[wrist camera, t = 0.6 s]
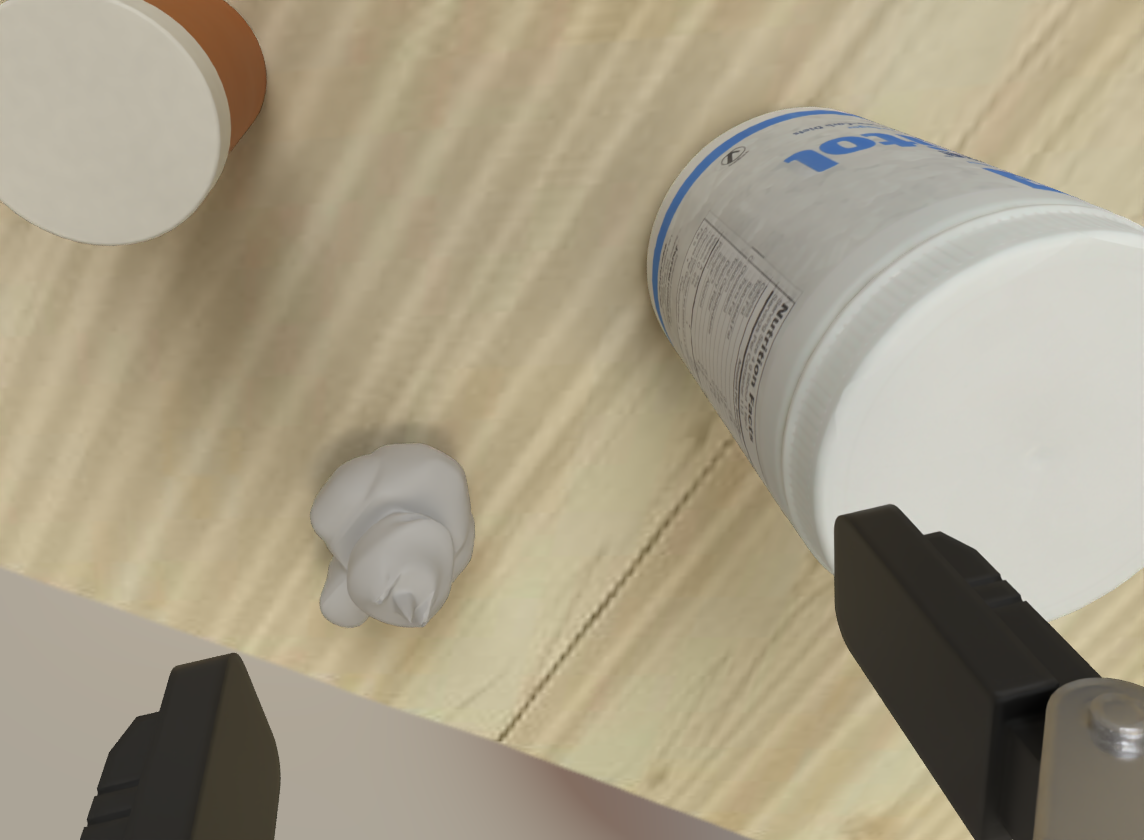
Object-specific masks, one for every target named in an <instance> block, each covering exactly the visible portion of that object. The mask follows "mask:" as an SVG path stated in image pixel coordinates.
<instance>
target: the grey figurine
mask: <svg viewBox="0 0 1144 840" xmlns="http://www.w3.org/2000/svg"><path fill="white" fill-rule="evenodd" d="M310 520H311V524H312V527H313V529H314V531H315V532H316V533H317V535H318V536H319V537H320V538H321V539H323V540H324V542H325V544H326V546H327V548H328V549H329V551H330V552H331V553H332V555H333V557H332V559H331V561H330V564H329V568H328V574H327V579H326V582H325V585H324V587H323V590H322V593H321V597H320V609H321V612H322V614H323V616H324V617H325V618H326V619H327V620H328V621H330V622H332V623H333V624H336V625H338V626H341V627H347V628H353V627H357V626H360V625H361V624H362V623H364V622H365V621H366V620H367V618H368V617H369V616H371V617H372V618H374V619H377V620H379V621H381V622H384V623H387V624H391V625H395V626H400V627H424V626H425V625H426V624H427V623H428V622H429V620H430V619H431V618H432V617H433V616H434V615H435V614H436V613H437V612H438V611H439V610H440V608H441V607H442V606H443V604H444V603H445V601H446V599H447V598H448V595H449V593H450V590H451V585H452V583H453V581H454V580H455V579H456V578H457V577H458V575H459V574H460V573H461V572H462V571H463V570H464V568H465V567H466V566H467V565H468V563H469V561H470V559H471V556H472V553H473V547H474V538H475V523H474V518H473V515H472V513H471V504H470V498H469V491H468V486H467V480H466V475H465V472H464V469H463V468H462V467H461V466H460V464H459V463H458V462H457V461H456V460H455V459H453V458H452V457H450V456H448V455H447V454H445V453H443V452H442V451H440V450H438V449H435V448H433V447H431V446H429V445H426V444H422V443H403V444H390V445H385V446H382V447H379V448H377V449H376V450H374V451H373V452H372V453H371V454H367V455H363V456H359V457H356V458H354V459H351V460H349V461H347V462H345V463H344V464H342V465H341V466H339V467H338V468H337V469H336V470H335V472H334V473H333V474H332V475H331V476H330V478H329V479H328V480H327V482H326V483H325V484H324V486H323V487H322V488H321V489H320V491H319V492H318V494H317V495H316V497H315V499H314V502H313V505H312V508H311V512H310Z"/></svg>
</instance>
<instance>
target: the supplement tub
mask: <svg viewBox="0 0 1144 840" xmlns="http://www.w3.org/2000/svg"><path fill="white" fill-rule="evenodd" d="M647 282H648V290H649V294H650V299H651V303H652V306H653V309H654V312H655V314H656V317H657V319H658V322H659V324H660V326H661V328H662V329H663V331H664V333H665V335H666V337H667V338H668V340H669V341H670V343H671V344H672V346H673V347H674V348H675V350H676V351H677V353H678V354H679V356H680V357H681V359H682V360H683V362H684V364H685V365H686V366H687V368H688V370H689V371H690V373H691V374H692V376H693V377H694V379H695V380H696V382H697V383H698V385H699V386H700V388H701V389H702V391H703V392H704V394H705V395H706V397H707V398H708V400H709V401H710V403H711V404H712V406H713V407H714V409H715V410H716V412H717V413H718V415H719V416H720V418H721V419H722V421H723V422H724V424H725V425H726V427H727V428H728V430H729V431H730V433H731V434H732V436H733V437H734V439H735V440H736V442H737V443H738V445H739V446H740V448H741V449H742V451H743V453H744V454H745V456H746V457H747V459H748V460H749V462H750V463H751V465H752V466H753V468H754V469H755V471H756V472H757V474H758V475H759V477H760V478H761V480H762V481H763V483H764V484H765V486H766V487H767V489H768V490H769V492H770V493H771V495H772V496H773V498H774V499H775V501H776V502H777V504H778V505H779V507H780V508H781V510H782V511H783V513H784V514H785V516H786V517H787V518H788V519H789V521H790V522H791V524H792V525H793V527H794V528H795V530H796V531H797V533H798V534H799V536H800V537H801V538H802V540H803V541H804V543H805V544H806V546H807V547H808V549H809V550H810V552H811V553H812V554H813V555H814V557H815V558H816V559H817V560H818V561H819V562H820V563H821V565H822V566H823V567H824V568H826V569H827V570H828V571H829V572H830V573H832V574H833V575H834V524H835V520H836V518H837V517H838V516H839V515H843V514H848V513H852V512H857V511H861V510H865V509H870V508H874V507H878V506H883V505H887V504H893V505H895V506H897V507H898V508H899V509H900V510H901V511H902V512H903V513H904V514H905V515H906V516H907V517H908V518H909V519H910V521H911V522H912V523H913V524H914V525H915V526H916V527H917V528H918V529H919V530H920V531H921V533H922V534H923V535H925V534H929V533H934V532H938V531H941V532H943V533H945V534H947V535H949V536H951V537H953V538H955V539H957V540H958V541H960V542H962V543H964V544H966V545H968V546H970V547H972V548H974V549H976V550H977V551H978V552H979V553H980V554H981V555H982V556H983V557H984V558H985V559H986V560H987V561H988V562H989V563H990V564H991V565H992V566H993V567H994V568H995V569H996V570H997V571H998V572H999V573H1000V574H1001V578H1002V580H1006V581H1007V582H1008V583H1009V584H1010V585H1011V586H1012V587H1013V588H1014V589H1015V590H1016V591H1017V592H1018V593H1019V594H1020V595H1021V598H1022V600H1023V601H1027V602H1028V603H1029V604H1030V605H1031V606H1032V607H1033V608H1034V609H1035V610H1036V611H1037V612H1038V613H1039V614H1040V615H1041V616H1042V617H1043V618H1044V619H1045V620H1046V621H1047V622H1050V621H1053V620H1055V619H1058V618H1060V617H1063V616H1065V615H1067V614H1070V613H1072V612H1074V611H1077V610H1079V609H1081V608H1082V607H1084V606H1086V605H1088V604H1090V603H1092V602H1093V601H1095V600H1097V599H1099V598H1101V597H1102V596H1104V595H1106V594H1107V593H1109V592H1111V591H1112V590H1114V589H1115V588H1117V587H1118V586H1120V585H1121V584H1122V583H1124V582H1125V581H1127V580H1128V579H1129V578H1131V577H1132V576H1133V575H1135V574H1136V573H1137V572H1138V571H1140V570H1141V569H1142V568H1144V227H1142V226H1141V225H1139V224H1137V223H1135V222H1133V221H1131V220H1129V219H1127V218H1125V217H1123V216H1120V215H1117V214H1114V213H1112V212H1110V211H1108V210H1106V209H1103V208H1100V207H1098V206H1095V205H1093V204H1090V203H1088V202H1085V201H1083V200H1081V199H1078V198H1076V197H1073V196H1071V195H1068V194H1066V193H1063V192H1061V191H1058V190H1055V189H1053V188H1050V187H1048V186H1045V185H1042V184H1040V183H1037V182H1034V181H1031V180H1029V179H1026V178H1023V177H1021V176H1018V175H1015V174H1012V173H1010V172H1007V171H1004V170H1002V169H999V168H997V167H994V166H991V165H989V164H986V163H984V162H981V161H978V160H975V159H972V158H970V157H967V156H964V155H962V154H959V153H956V152H954V151H951V150H948V149H946V148H943V147H941V146H938V145H935V144H932V143H930V142H927V141H924V140H921V139H919V138H916V137H914V136H911V135H908V134H905V133H903V132H900V131H897V130H895V129H892V128H889V127H886V126H884V125H881V124H878V123H875V122H873V121H870V120H867V119H865V118H862V117H859V116H856V115H853V114H850V113H847V112H843V111H840V110H836V109H831V108H822V107H796V108H789V109H783V110H778V111H774V112H770V113H767V114H763V115H760V116H758V117H755V118H752V119H750V120H748V121H746V122H743V123H741V124H739V125H737V126H735V127H733V128H732V129H730V130H728V131H726V132H724V133H723V134H721V135H720V136H718V137H717V138H715V139H714V140H713V141H711V142H710V143H709V144H707V145H706V146H705V147H704V148H703V149H702V150H700V151H699V152H698V153H697V154H696V155H695V156H694V157H693V158H692V159H691V160H690V162H689V163H688V164H687V165H686V166H685V167H684V169H683V170H682V171H681V172H680V174H679V175H678V176H677V178H676V179H675V181H674V182H673V184H672V185H671V187H670V188H669V190H668V192H667V194H666V196H665V198H664V200H663V202H662V204H661V206H660V208H659V210H658V213H657V216H656V218H655V221H654V224H653V227H652V232H651V236H650V240H649V246H648V253H647Z"/></svg>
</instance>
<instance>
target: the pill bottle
mask: <svg viewBox="0 0 1144 840" xmlns="http://www.w3.org/2000/svg"><path fill="white" fill-rule="evenodd" d="M265 92H266V68H265V62H264V58H263V54H262V51H261V48H260V46H259V43H258V41H257V39H256V37H255V35H254V34H253V32H252V30H251V28H250V27H249V26H248V24H247V23H246V22H245V20H244V19H243V18H242V17H241V16H240V15H239V14H238V13H237V11H236V10H235V9H233V8H232V7H231V6H230V5H229V4H227V3H226V2H225V1H223V0H8V1H6V2H4V3H2V4H0V200H1V201H2V202H3V203H4V204H5V205H6V206H8V207H9V208H10V209H11V210H12V211H14V212H15V213H16V214H18V215H19V216H21V217H22V218H24V219H25V220H27V221H28V222H30V223H31V224H33V225H35V226H37V227H39V228H41V229H43V230H45V231H47V232H49V233H52V234H54V235H57V236H59V237H62V238H65V239H68V240H72V241H76V242H79V243H85V244H91V245H100V246H120V245H131V244H136V243H140V242H145V241H148V240H151V239H154V238H156V237H159V236H161V235H163V234H165V233H167V232H169V231H171V230H173V229H174V228H176V227H177V226H179V225H180V224H181V223H183V222H184V221H185V220H186V219H188V218H189V217H190V216H191V215H192V214H193V213H194V212H195V211H196V210H197V208H198V207H199V206H200V204H201V203H202V202H203V200H204V199H205V198H206V196H207V195H208V194H209V192H210V191H211V190H212V188H213V187H214V185H215V184H216V182H217V180H218V178H219V177H220V175H221V173H222V171H223V168H224V165H225V163H226V160H227V156H228V154H229V153H230V152H231V150H232V149H233V148H234V147H235V145H236V144H237V143H238V141H239V140H240V139H241V137H242V136H243V135H244V133H245V132H246V131H247V130H248V128H249V127H250V126H251V124H252V123H253V122H254V120H255V119H256V117H257V115H258V113H259V112H260V109H261V107H262V104H263V101H264V96H265Z"/></svg>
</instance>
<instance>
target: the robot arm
mask: <svg viewBox="0 0 1144 840" xmlns="http://www.w3.org/2000/svg"><path fill="white" fill-rule="evenodd" d="M834 586H835V611H836V616H837V621H838V625H839V628H840V631H841V634H842V637H843V639H844V641H845V643H846V645H847V647H848V649H849V651H850V652H851V654H852V655H853V657H854V658H855V660H856V661H857V663H858V664H859V666H860V667H861V669H862V670H863V672H864V673H865V675H866V676H867V678H868V679H869V681H870V682H871V684H872V685H873V687H874V689H875V690H876V692H877V693H878V695H879V696H880V698H881V699H882V701H883V702H884V704H885V705H886V707H887V708H888V710H889V711H890V713H891V714H892V716H893V717H894V719H895V720H896V722H897V723H898V725H899V726H900V728H901V729H902V731H903V732H904V734H905V735H906V737H907V738H908V740H909V741H910V743H911V744H912V746H913V747H914V749H915V750H916V752H917V753H918V755H919V756H920V758H921V759H922V761H923V762H924V764H925V765H926V767H927V768H928V770H929V771H930V773H931V774H932V776H933V777H934V779H935V780H936V782H937V783H938V785H939V786H940V788H941V789H942V791H943V792H944V794H945V795H946V797H947V799H948V800H949V802H950V803H951V805H952V806H953V808H954V809H955V811H956V812H957V814H958V815H959V817H960V818H961V820H962V821H963V823H964V824H965V826H966V827H967V829H968V830H969V832H970V833H971V835H972V836H973V838H974V839H975V840H1144V687H1142V686H1140V685H1137V684H1134V683H1131V682H1127V681H1123V680H1118V679H1111V678H1102V677H1101V676H1100V675H1099V674H1098V673H1097V672H1096V671H1095V670H1094V669H1093V668H1092V667H1091V666H1090V665H1089V664H1088V663H1087V662H1086V661H1085V660H1084V659H1083V658H1082V657H1081V656H1080V655H1079V654H1078V653H1077V652H1076V651H1075V650H1074V649H1073V648H1072V647H1071V646H1070V645H1069V644H1068V643H1067V642H1066V641H1065V640H1064V639H1063V638H1062V636H1061V635H1060V634H1059V633H1058V632H1057V631H1056V630H1055V629H1054V628H1053V627H1052V626H1051V625H1050V624H1049V623H1048V622H1047V621H1046V620H1045V619H1044V618H1043V617H1042V616H1041V615H1040V614H1039V613H1038V612H1037V611H1036V610H1035V609H1034V608H1033V607H1032V606H1031V605H1030V604H1029V603H1028V602H1027V601H1023V600H1022V598H1021V595H1020V594H1019V593H1018V592H1017V591H1016V590H1015V589H1014V588H1013V587H1012V586H1011V585H1010V584H1009V583H1008V582H1007V581H1006V580H1002V578H1001V574H1000V573H999V572H998V571H997V570H996V569H995V568H994V567H993V566H992V565H991V564H990V563H989V562H988V561H987V560H986V559H985V558H984V557H983V556H982V555H981V554H980V553H979V552H978V551H977V550H976V549H974V548H972V547H970V546H968V545H966V544H964V543H962V542H960V541H958V540H957V539H955V538H953V537H951V536H949V535H947V534H945V533H943V532H941V531H938V532H934V533H929V534H925V535H923V534H922V533H921V531H920V530H919V529H918V528H917V527H916V526H915V525H914V524H913V523H912V522H911V521H910V519H909V518H908V517H907V516H906V515H905V514H904V513H903V512H902V511H901V510H900V509H899V508H898V507H897V506H895V505H893V504H887V505H883V506H878V507H874V508H870V509H865V510H861V511H857V512H852V513H848V514H843V515H839V516H838V517H837V518H836V520H835V524H834ZM280 779H281V777H280V763H279V756H278V751H277V747H276V742H275V739H274V736H273V733H272V731H271V729H270V726H269V724H268V721H267V719H266V716H265V714H264V711H263V709H262V707H261V704H260V702H259V699H258V697H257V694H256V692H255V689H254V687H253V684H252V682H251V679H250V677H249V675H248V672H247V670H246V667H245V665H244V663H243V661H242V659H241V657H240V656H239V655H238V654H237V653H231V654H226V655H221V656H217V657H213V658H209V659H204V660H200V661H195V662H191V663H187V664H182V665H178V666H176V667H174V668H173V669H172V671H171V673H170V676H169V680H168V683H167V687H166V690H165V694H164V697H163V701H162V704H161V708H160V711H159V712H155V713H151V714H147V715H143V716H138V717H136V718H135V720H134V721H133V722H132V724H131V725H130V726H129V728H128V729H127V730H126V731H125V733H124V734H123V735H122V737H121V738H120V739H119V741H118V742H117V743H116V744H115V746H114V747H113V748H112V749H111V751H110V752H109V754H108V758H107V760H106V763H105V766H104V770H103V772H102V776H101V778H100V781H99V784H98V787H97V791H98V796H95V797H94V799H93V802H92V805H91V808H90V811H89V814H88V818H87V822H88V826H87V827H84V830H83V832H82V835H81V838H80V840H274V836H275V828H276V819H277V811H278V802H279V793H280Z"/></svg>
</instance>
